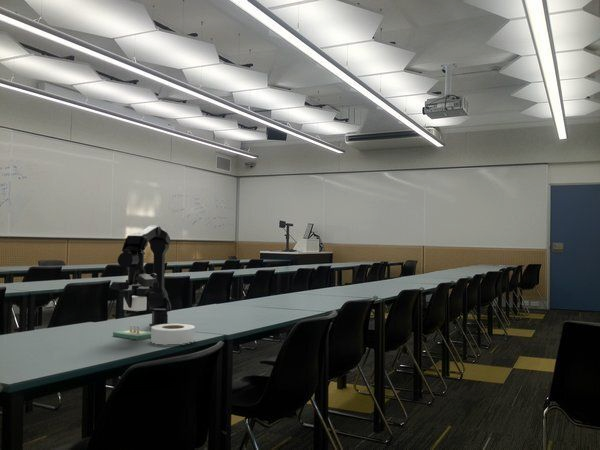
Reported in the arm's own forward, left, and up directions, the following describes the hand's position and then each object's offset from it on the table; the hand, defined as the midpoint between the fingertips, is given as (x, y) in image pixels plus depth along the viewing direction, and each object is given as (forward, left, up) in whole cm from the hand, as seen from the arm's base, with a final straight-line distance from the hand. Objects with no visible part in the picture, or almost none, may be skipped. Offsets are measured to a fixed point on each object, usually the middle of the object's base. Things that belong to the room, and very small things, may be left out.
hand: (134, 307), depth 205 cm
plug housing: (0, 0, -1) cm, 1 cm away
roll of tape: (+19, +2, -12) cm, 22 cm away
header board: (0, 0, -11) cm, 11 cm away
